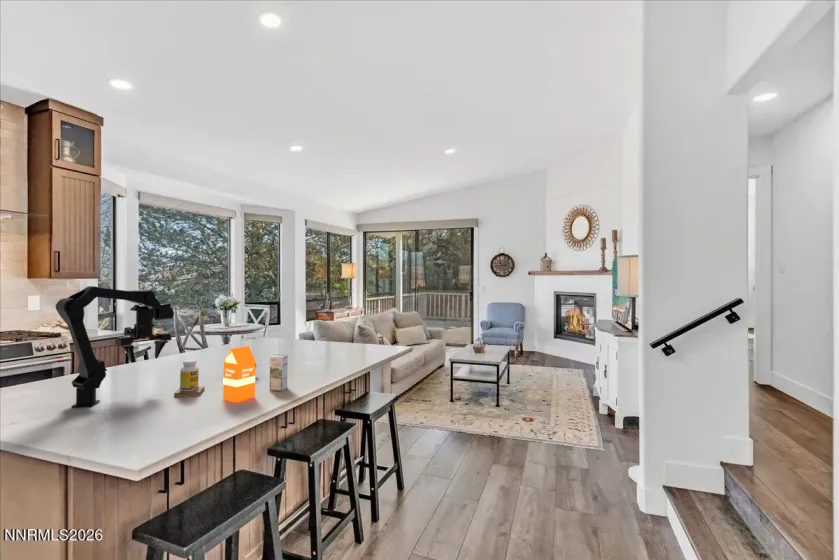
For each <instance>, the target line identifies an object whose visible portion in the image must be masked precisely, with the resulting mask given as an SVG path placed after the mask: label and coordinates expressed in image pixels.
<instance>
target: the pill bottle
mask: <svg viewBox="0 0 839 560" xmlns="http://www.w3.org/2000/svg"><path fill="white" fill-rule="evenodd" d="M182 362H183V367H181V368H180V369H179V370H180V375H179V376H180V379H179V388H180V390H181V391H194V390H197V389H198V387H199V373H200V372H199V371H200V369H199V367H198V366H196V365H197V360H195V359H185V360H183V361H182Z"/></svg>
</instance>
